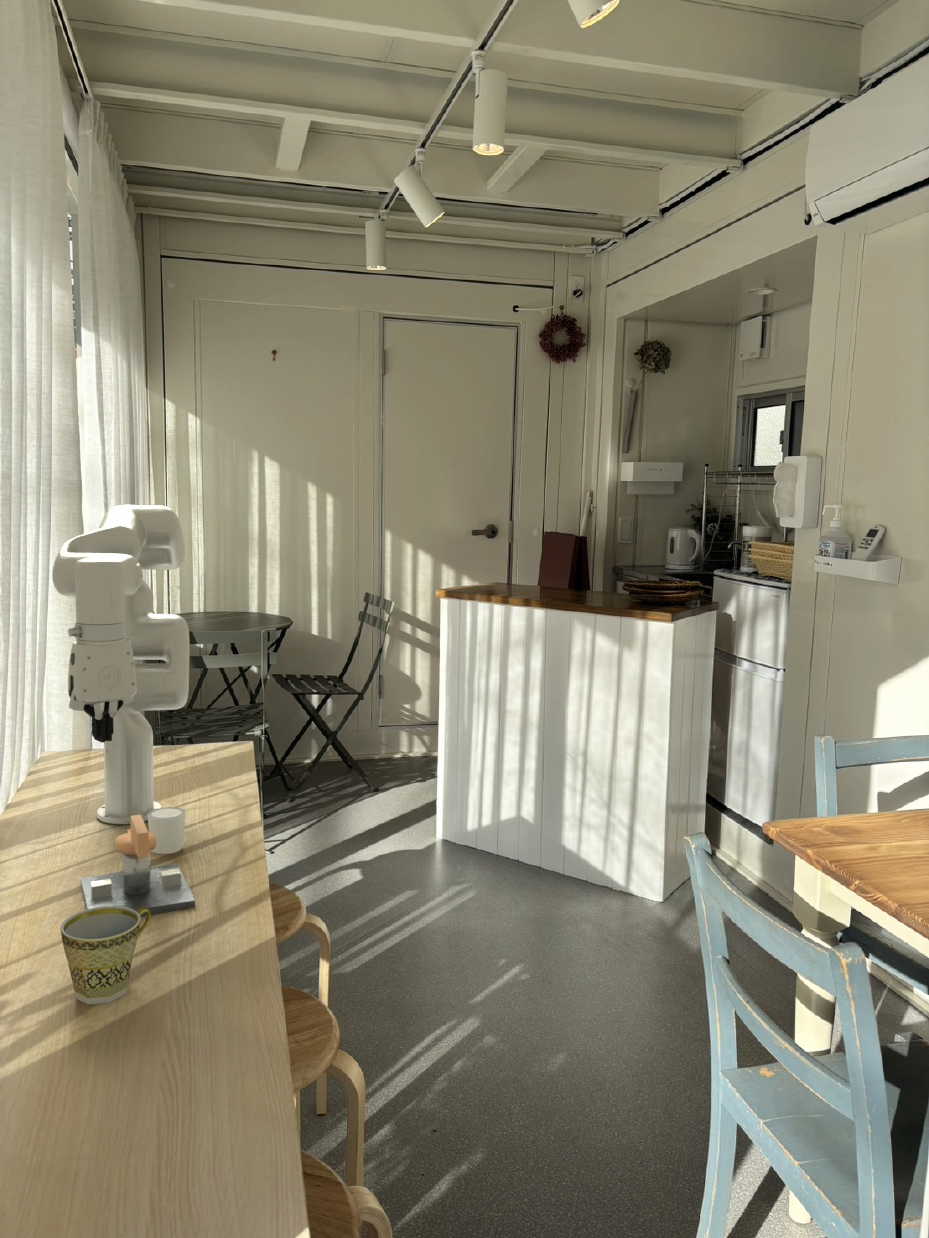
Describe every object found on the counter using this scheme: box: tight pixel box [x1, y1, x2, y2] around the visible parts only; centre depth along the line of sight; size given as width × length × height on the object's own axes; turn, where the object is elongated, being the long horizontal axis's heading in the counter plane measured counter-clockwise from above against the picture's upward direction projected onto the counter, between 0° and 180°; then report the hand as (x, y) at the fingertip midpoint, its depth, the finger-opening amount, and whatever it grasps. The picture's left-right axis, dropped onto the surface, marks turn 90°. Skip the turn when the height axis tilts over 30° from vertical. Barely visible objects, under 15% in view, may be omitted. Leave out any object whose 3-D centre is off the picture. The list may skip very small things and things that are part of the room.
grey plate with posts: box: [80, 851, 196, 917], centre depth 154 cm, size 16×16×8 cm
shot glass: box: [147, 806, 186, 855], centre depth 175 cm, size 7×7×7 cm
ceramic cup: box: [60, 906, 152, 1006], centre depth 126 cm, size 13×10×10 cm
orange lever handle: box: [114, 815, 156, 858], centre depth 152 cm, size 14×6×6 cm, turn 27°
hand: (102, 739), depth 156 cm, fingers closed
